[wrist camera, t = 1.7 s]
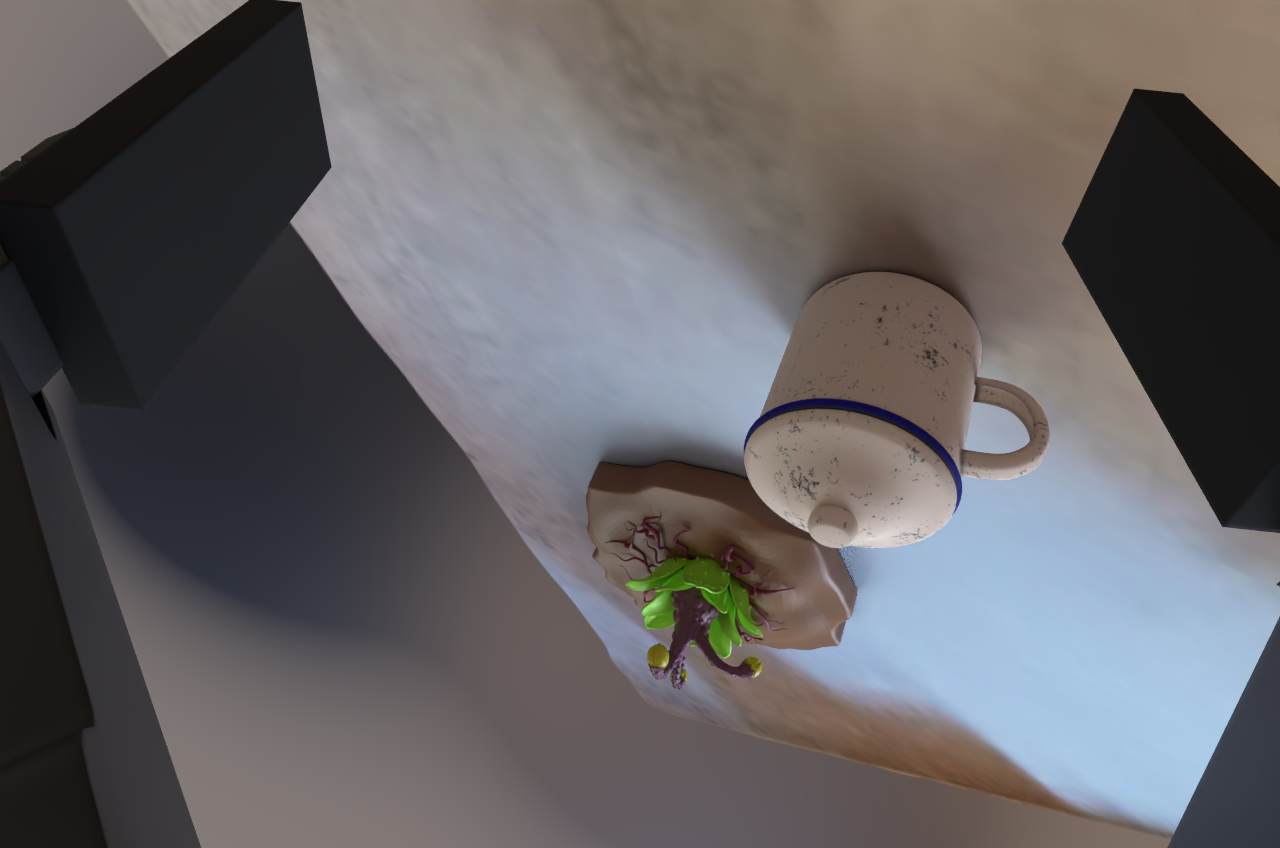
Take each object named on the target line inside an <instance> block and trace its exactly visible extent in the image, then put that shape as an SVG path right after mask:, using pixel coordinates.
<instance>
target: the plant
mask: <svg viewBox="0 0 1280 848" xmlns="http://www.w3.org/2000/svg"><path fill="white" fill-rule="evenodd" d="M586 506H587V511H588V519H589V522H588V528H587V531H588V535H589V537H590V539H591V540H592V542H593V544H594V545H595V546H596V549H595V551H594V553H593V558H594V559H595V560H596V561H597V562H599V563H600V564H601V565H602V566H603V567H604V569H605V572H606V579H607V580H608V581H609V582H610V583H612V584H613V585H615V586H617V587H618V588H620V589H621V590H623V591H624V592H626V593H627V594H629V595H630V596H632V597H633V598H634V599H635V604H636V605H637V606H639V607H640V608H642V611H641V614H642V615H643V616H645V619H644V625H645V627H646V628H648V629H664V628H667V627H670V626H672V625H674V624H675V627H674V629H675V630H674V632H673V634H672V639H673V641H672V643H671V647H670V650H669V651H668V650H667V649H666V647H665V646H664V645H661V644H660V643H659V644H657V645H654V646H652V647H651V648H650V649H649V651H648V654H647V657H648V658H647V661H648V662H649V664H648V665H649V666H650V670H651V672H652V675H653V676H654V677H655V679H664V678H666V677H667V675H668V674H669V672H670V671H671V670H672V669H673V670H672V672H671V674H670V680H671V682H672V684H673V687H674V688H675V689H680V688H682V687H683V686H684V685H685V683H686V682H687V672H686V671H685V669H683V668H684V664H683V661H684V660H685V657H684V656H685V653H686V650H687V649H688V647H689V644H690V646H693V647H694V646H696V645H697V646H698V647H699V648H700V649H701V650H702V652H703V653H704V655H705V658H706V659H708V660H709V662H710V663H711V665H712V666H714V667H716V668H717V669H718V670H720V671H722V672H725V673H726V674H730V675H734V676H738V677H741V678H749V679H751V678H755V677H757V676H758V675H759V674H760V672H761V670H762V662H760V661H759V660H758V659H757V658H755V657H749V658H747V659H745V660H744V661H743V662H742V663H741V665H740V666H739V667H732V666H730V665H728V664H726V663H724V662H723V661H722V660H721V659H720V658H719V657H718V656H717V655H716V653H715V652H717V653H718V654H719V655H720V656H721V657H723V658H727V657H729V656H730V654H731V642H734V643H735V644H737V645H738V646H741V645H742V643H745V644H758V645H764V646H769V647H773V648H777V649H788V648H789V649H799V650H812V649H816V648H820V647H828V646H838V645H839V644H840V641H841V638H842V634H843V630H844V627H845V623H846V620H848V619H849V618H850V617H851V615H852V612H853V608H854V605H855V601H856V596H857V590H856V586H855V584H854V582H853V580H852V578H851V577H850V574H849V571H848V569H847V567H846V565H845V563H844V561H843V559H842V557H841V555H840V553H839V551H838V549H837V548H831V547H827V546H824V545H822V544H820V543H818V542H817V541H815V540H814V539H813V538H812V537H811V535H810V533H808V532H806V531H804V530H802V529H800V528H798V527H796V526H795V525H793V524H791V523H789V522H788V521H786V520H785V519H783V518H782V517H781V516H779V515H778V514H777V513H775V512H774V511H773V510H772V509H771V508H769V507H768V506H767V505H766V504H765V503H764V502H763V500H762V499H761V498H760V497H759V496H758V494H757V493H756V491H755V490H754V488H753V487H752V485H751V483H750V481H749V480H747V479H744V478H741V477H738V476H735V475H732V474H729V473H725V472H720V471H714V470H709V469H703V468H700V467H696V466H691V465H686V464H682V463H678V462H670V461H666V462H662V463H659V464H656V465H653V466H650V467H628V466H621V465H614V464H608V463H602V462H600V463H599V464H598V466H597V468H596V470H595V472H594V475H593V477H592V479H591V481H590V483H589V486H588V492H587V495H586Z"/></svg>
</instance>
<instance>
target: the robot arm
mask: <svg viewBox="0 0 1280 848" xmlns="http://www.w3.org/2000/svg"><path fill="white" fill-rule="evenodd" d="M330 168H331V162H330V157H329V152H328V146H327V141H326V135H325V130H324V124H323V119H322V114H321V108H320V103H319V97H318V92H317V86H316V81H315V76H314V70H313V65H312V59H311V54H310V48H309V43H308V38H307V32H306V27H305V21H304V16H303V10H302V5H301V3H299V2H289V1H279V0H249V1H248V2H246V3H245V4H244V5H242V6H241V7H239V8H238V9H237V10H235V11H234V12H233V13H231V14H230V15H228V16H227V17H226V18H224V19H223V20H222V21H220V22H219V23H217V24H216V25H215V26H213V27H212V28H211V29H209V30H208V31H206V32H205V33H204V34H202V35H201V36H200V37H198V38H197V39H196V40H194V41H193V42H191V43H190V44H189V45H187V46H186V47H185V48H183V49H182V50H180V51H179V52H178V53H176V54H175V55H174V56H172V57H171V58H169V59H168V60H167V61H165V62H164V63H163V64H161V65H160V66H159V67H157V68H156V69H155V70H153V71H152V72H150V73H149V74H148V75H146V76H145V77H143V78H142V79H141V80H139V81H138V82H137V83H135V84H134V85H132V86H131V87H130V88H128V89H127V90H126V91H124V92H123V93H122V94H120V95H119V96H117V97H116V98H115V99H113V100H112V101H111V102H109V103H108V104H106V105H105V106H104V107H102V108H101V109H100V110H98V111H97V112H96V113H94V114H93V115H91V116H90V117H89V118H87V119H86V120H85V121H83V122H82V123H80V124H79V125H78V126H76V127H75V128H72V129H70V130H67V131H64V132H62V133H59V134H57V135H54V136H52V137H49V138H47V139H45V140H44V141H43V142H41V143H40V144H38V145H37V146H35V147H34V148H33V149H31V150H30V151H28V152H27V153H26V154H24V155H23V156H21V161H15V162H13V163H12V164H10V165H9V166H8V167H6V168H5V169H3V170H2V171H1V172H0V848H201V846H200V843H199V840H198V837H197V834H196V831H195V829H194V825H193V822H192V820H191V817H190V814H189V811H188V808H187V805H186V802H185V799H184V796H183V793H182V790H181V787H180V784H179V781H178V778H177V775H176V772H175V769H174V766H173V764H172V760H171V757H170V755H169V752H168V748H167V745H166V742H165V740H164V737H163V734H162V731H161V728H160V725H159V722H158V719H157V716H156V713H155V710H154V707H153V704H152V701H151V698H150V695H149V692H148V689H147V686H146V683H145V680H144V677H143V674H142V672H141V669H140V665H139V662H138V660H137V657H136V654H135V651H134V648H133V645H132V642H131V639H130V636H129V633H128V630H127V627H126V624H125V621H124V618H123V615H122V612H121V609H120V607H119V603H118V600H117V598H116V594H115V592H114V589H113V585H112V583H111V580H110V577H109V574H108V571H107V568H106V565H105V562H104V559H103V556H102V553H101V550H100V547H99V544H98V541H97V538H96V535H95V532H94V529H93V527H92V524H91V520H90V517H89V514H88V511H87V509H86V506H85V503H84V500H83V497H82V494H81V491H80V488H79V485H78V482H77V479H76V476H75V473H74V470H73V467H72V464H71V461H70V458H69V456H68V452H67V449H66V446H65V443H64V441H63V438H62V435H61V432H60V429H59V426H58V423H57V420H56V417H55V414H54V411H53V409H52V408H51V405H50V404H49V402H48V400H47V398H46V396H45V394H44V392H43V390H42V388H43V387H44V386H45V385H46V384H47V382H49V380H50V379H51V378H52V377H53V376H54V375H55V374H56V373H57V372H58V371H59V370H60V369H61V368H62V369H63V371H64V373H65V375H66V377H67V379H68V381H69V383H70V385H71V387H72V388H73V391H74V393H75V395H76V397H77V399H78V401H79V403H80V404H81V406H88V407H98V408H107V409H117V410H126V411H136V412H144V411H145V410H146V408H147V407H148V406H149V404H150V403H151V402H152V400H153V399H154V398H155V396H156V395H157V394H158V393H159V391H160V390H161V389H162V387H163V386H164V385H165V384H166V382H167V381H168V380H169V378H170V377H171V376H172V374H173V373H174V372H175V370H176V369H177V368H178V366H179V365H180V364H181V363H182V361H183V360H184V359H185V357H186V356H187V355H188V353H189V352H190V351H191V350H192V348H193V347H194V346H195V344H196V343H197V342H198V341H199V339H200V338H201V337H202V335H203V334H204V333H205V331H206V330H207V329H208V327H209V326H210V325H211V324H212V322H213V321H214V320H215V318H216V317H217V316H218V314H219V313H220V312H221V310H222V309H223V308H224V307H225V305H226V304H227V303H228V301H229V300H230V299H231V298H232V296H233V295H234V294H235V292H236V291H237V290H238V288H239V287H240V286H241V284H242V283H243V282H244V281H245V279H246V278H247V277H248V275H249V274H250V273H251V271H252V270H253V269H254V267H255V266H256V265H257V264H258V262H259V261H260V260H261V258H262V257H263V256H264V254H265V253H266V252H267V250H268V249H269V248H270V247H271V245H272V244H273V243H274V241H275V240H276V239H277V237H278V236H279V235H280V234H281V232H282V231H283V230H284V228H285V227H286V226H287V224H288V223H289V222H290V221H291V219H292V218H293V217H294V215H295V214H296V213H297V211H298V210H299V209H300V208H301V206H302V205H303V204H304V202H305V201H306V200H307V198H308V197H309V196H310V195H311V193H312V192H313V191H314V189H315V188H316V187H317V185H318V184H319V183H320V181H321V180H322V179H323V178H324V176H325V175H326V174H327V172H328V171H329V170H330ZM1062 245H1063V246H1064V248H1065V250H1066V252H1067V253H1068V255H1069V257H1070V259H1071V260H1072V262H1073V264H1074V266H1075V268H1076V269H1077V271H1078V273H1079V275H1080V276H1081V278H1082V280H1083V282H1084V283H1085V285H1086V287H1087V289H1088V290H1089V292H1090V294H1091V296H1092V298H1093V299H1094V301H1095V303H1096V305H1097V306H1098V308H1099V310H1100V312H1101V313H1102V315H1103V317H1104V319H1105V320H1106V322H1107V324H1108V326H1109V328H1110V329H1111V331H1112V333H1113V335H1114V336H1115V338H1116V340H1117V342H1118V343H1119V345H1120V347H1121V349H1122V350H1123V352H1124V354H1125V356H1126V358H1127V359H1128V361H1129V363H1130V365H1131V366H1132V368H1133V370H1134V372H1135V373H1136V375H1137V377H1138V379H1139V380H1140V382H1141V384H1142V386H1143V388H1144V389H1145V391H1146V393H1147V395H1148V396H1149V398H1150V400H1151V402H1152V403H1153V405H1154V407H1155V409H1156V410H1157V412H1158V414H1159V416H1160V417H1161V419H1162V421H1163V423H1164V425H1165V426H1166V428H1167V430H1168V432H1169V433H1170V435H1171V437H1172V439H1173V440H1174V442H1175V444H1176V446H1177V447H1178V449H1179V451H1180V453H1181V455H1182V456H1183V458H1184V460H1185V462H1186V463H1187V465H1188V467H1189V469H1190V470H1191V472H1192V474H1193V476H1194V477H1195V479H1196V481H1197V483H1198V485H1199V486H1200V488H1201V490H1202V492H1203V493H1204V495H1205V497H1206V499H1207V500H1208V502H1209V504H1210V506H1211V507H1212V509H1213V511H1214V513H1215V515H1216V516H1217V518H1218V520H1219V522H1220V523H1221V525H1222V527H1229V528H1239V529H1248V530H1258V531H1267V532H1276V533H1280V187H1279V186H1278V185H1277V184H1276V183H1275V182H1274V181H1273V180H1272V179H1271V178H1270V177H1269V176H1268V175H1267V174H1266V173H1265V172H1264V171H1263V170H1262V169H1260V168H1259V167H1258V166H1257V165H1256V164H1255V163H1254V162H1253V161H1252V160H1251V159H1250V158H1249V157H1248V156H1247V155H1246V154H1245V153H1244V152H1243V151H1242V150H1241V149H1240V148H1239V147H1238V146H1237V145H1236V144H1235V143H1234V142H1233V141H1232V140H1231V139H1229V138H1228V137H1227V136H1226V135H1225V134H1224V133H1223V132H1222V131H1221V130H1220V129H1219V128H1218V127H1217V126H1216V125H1215V124H1214V123H1213V122H1212V121H1211V120H1210V119H1209V118H1208V117H1207V116H1206V115H1205V114H1204V113H1203V112H1202V111H1201V110H1200V109H1198V108H1197V107H1196V106H1195V105H1194V104H1193V103H1192V102H1191V101H1190V100H1189V99H1188V98H1187V97H1186V96H1185V95H1184V94H1182V93H1172V92H1162V91H1153V90H1143V89H1134V90H1133V92H1132V94H1131V97H1130V99H1129V101H1128V103H1127V105H1126V107H1125V109H1124V111H1123V114H1122V116H1121V118H1120V120H1119V122H1118V124H1117V126H1116V129H1115V131H1114V133H1113V135H1112V137H1111V139H1110V141H1109V144H1108V146H1107V148H1106V150H1105V152H1104V154H1103V156H1102V159H1101V161H1100V163H1099V165H1098V167H1097V169H1096V171H1095V173H1094V176H1093V178H1092V180H1091V182H1090V184H1089V186H1088V188H1087V191H1086V193H1085V195H1084V197H1083V199H1082V201H1081V203H1080V206H1079V208H1078V210H1077V212H1076V214H1075V216H1074V218H1073V221H1072V223H1071V225H1070V227H1069V229H1068V231H1067V233H1066V235H1065V238H1064V240H1063V242H1062ZM1277 585H1278V586H1280V582H1279V583H1278V584H1277ZM1168 848H1280V617H1279V619H1278V621H1277V624H1276V626H1275V628H1274V630H1273V632H1272V634H1271V636H1270V638H1269V640H1268V642H1267V644H1266V646H1265V648H1264V650H1263V652H1262V654H1261V656H1260V658H1259V661H1258V663H1257V665H1256V667H1255V669H1254V671H1253V673H1252V675H1251V677H1250V679H1249V681H1248V683H1247V685H1246V687H1245V689H1244V691H1243V693H1242V695H1241V697H1240V700H1239V702H1238V704H1237V706H1236V708H1235V710H1234V712H1233V714H1232V716H1231V718H1230V720H1229V722H1228V724H1227V726H1226V728H1225V730H1224V732H1223V734H1222V737H1221V739H1220V741H1219V743H1218V745H1217V747H1216V749H1215V751H1214V753H1213V755H1212V757H1211V759H1210V761H1209V763H1208V765H1207V767H1206V769H1205V771H1204V774H1203V776H1202V778H1201V780H1200V782H1199V784H1198V786H1197V788H1196V790H1195V792H1194V794H1193V796H1192V798H1191V800H1190V802H1189V804H1188V806H1187V808H1186V811H1185V813H1184V815H1183V817H1182V819H1181V821H1180V823H1179V825H1178V827H1177V829H1176V831H1175V833H1174V835H1173V837H1172V839H1171V842H1170V843H1169V846H1168Z"/></svg>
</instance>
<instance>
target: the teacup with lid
mask: <svg viewBox="0 0 1280 848" xmlns="http://www.w3.org/2000/svg"><path fill="white" fill-rule="evenodd" d="M981 357H982V342H981V337H980V333H979V331H978V328H977V326H976V324H975V322H974V320H973V318H972V317H971V315H970V314H969V313H968V311H967V310H966V309H965V308H964V307H963V306H962V304H961V303H959V302H958V301H957V300H956V299H955V298H954V297H952V296H951V295H950V294H948V293H947V292H945V291H944V290H942V289H940V288H939V287H937V286H935V285H933V284H931V283H929V282H926V281H924V280H921V279H918V278H915V277H912V276H908V275H904V274H898V273H890V272H865V273H858V274H853V275H848V276H845V277H842V278H839V279H837V280H834V281H832V282H830V283H828V284H827V285H825V286H823V287H822V288H820V289H819V290H818V291H817V292H815V293H814V294H813V295H812V296H811V297H810V298H809V299H808V301H807V302H806V303H805V305H804V306H803V308H802V310H801V312H800V314H799V317H798V319H797V322H796V324H795V327H794V330H793V332H792V335H791V337H790V340H789V343H788V345H787V348H786V350H785V353H784V356H783V358H782V361H781V363H780V366H779V369H778V371H777V374H776V376H775V379H774V382H773V384H772V387H771V389H770V392H769V395H768V397H767V400H766V402H765V405H764V408H763V410H762V413H761V415H760V418H759V419H757V420H756V421H755V423H754V424H753V425H752V426H751V428H750V430H749V432H748V433H747V436H746V439H745V444H744V463H745V469H746V472H747V476H748V478H749V481H750V483H751V485H752V487H753V488H754V490H755V491H756V493H757V494H758V496H759V497H760V498H761V499H762V500H763V502H764V503H765V504H766V505H767V506H768V507H769V508H771V509H772V510H773V511H774V512H775V513H777V514H778V515H779V516H781V517H782V518H783V519H785V520H786V521H788V522H789V523H791V524H793V525H795V526H796V527H798V528H800V529H802V530H804V531H806V532H808V533H810V535H811V537H812V538H813V539H814V540H815V541H817V542H818V543H820V544H822V545H824V546H827V547H831V548H844V547H847V546H849V545H851V546H857V547H866V548H890V547H899V546H905V545H909V544H913V543H916V542H919V541H921V540H923V539H926V538H928V537H930V536H931V535H933V534H934V533H936V532H937V531H939V530H940V529H941V528H942V527H943V526H944V525H945V524H946V523H947V522H948V521H949V519H950V518H951V516H952V515H953V514H954V513H955V511H956V509H957V507H958V505H959V503H960V500H961V495H962V482H961V476H960V475H962V476H968V477H974V478H980V479H988V480H1007V479H1013V478H1017V477H1020V476H1023V475H1025V474H1027V473H1029V472H1031V471H1033V470H1034V469H1035V468H1037V467H1038V466H1039V465H1040V464H1041V462H1042V461H1043V459H1044V458H1045V455H1046V453H1047V449H1048V444H1049V436H1050V434H1049V425H1048V421H1047V418H1046V416H1045V414H1044V412H1043V410H1042V408H1041V407H1040V405H1039V404H1038V403H1037V402H1036V401H1035V399H1034V398H1033V397H1031V396H1030V395H1029V394H1028V393H1027V392H1025V391H1024V390H1022V389H1020V388H1018V387H1016V386H1014V385H1012V384H1009V383H1006V382H1002V381H998V380H993V379H987V378H980V377H978V373H979V368H980V363H981ZM973 402H979V403H985V404H990V405H995V406H998V407H1001V408H1004V409H1006V410H1008V411H1010V412H1012V413H1013V414H1014V415H1016V416H1017V417H1018V418H1019V419H1020V420H1021V421H1022V423H1023V424H1024V425H1025V427H1026V429H1027V431H1028V433H1029V437H1030V442H1029V443H1028V444H1027V445H1026V446H1025V447H1023V448H1021V449H1019V450H1017V451H1014V452H1011V453H1005V454H990V453H982V452H975V451H969V450H964V446H965V441H966V436H967V431H968V426H969V420H970V415H971V410H972V405H973Z"/></svg>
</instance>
